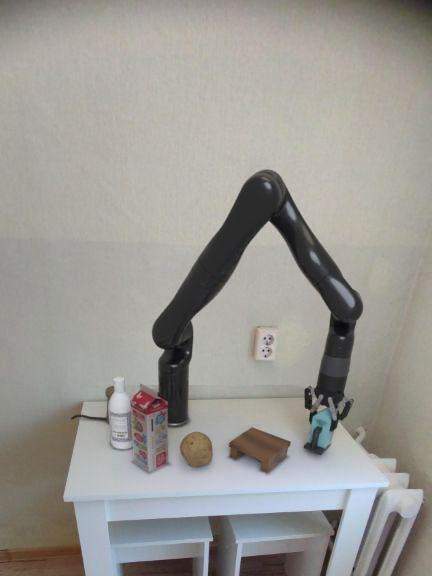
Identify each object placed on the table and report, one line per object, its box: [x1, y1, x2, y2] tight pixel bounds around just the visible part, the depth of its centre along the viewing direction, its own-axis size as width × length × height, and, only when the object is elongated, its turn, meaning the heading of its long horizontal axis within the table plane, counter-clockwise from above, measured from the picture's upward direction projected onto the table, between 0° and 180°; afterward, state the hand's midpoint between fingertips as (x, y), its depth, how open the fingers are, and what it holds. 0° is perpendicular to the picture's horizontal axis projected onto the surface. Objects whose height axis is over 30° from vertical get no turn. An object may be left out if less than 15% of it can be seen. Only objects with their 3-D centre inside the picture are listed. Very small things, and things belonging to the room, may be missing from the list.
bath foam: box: [108, 376, 133, 450], centre depth 128 cm, size 7×7×20 cm
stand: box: [228, 426, 291, 474], centre depth 131 cm, size 12×13×5 cm
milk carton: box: [130, 383, 169, 473], centre depth 120 cm, size 7×7×22 cm
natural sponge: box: [179, 431, 214, 468], centre depth 124 cm, size 9×9×10 cm
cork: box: [104, 385, 114, 425], centre depth 143 cm, size 6×6×11 cm
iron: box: [303, 407, 335, 455], centre depth 131 cm, size 12×6×7 cm
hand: (322, 426), depth 131 cm, fingers closed on iron, 5 cm apart
